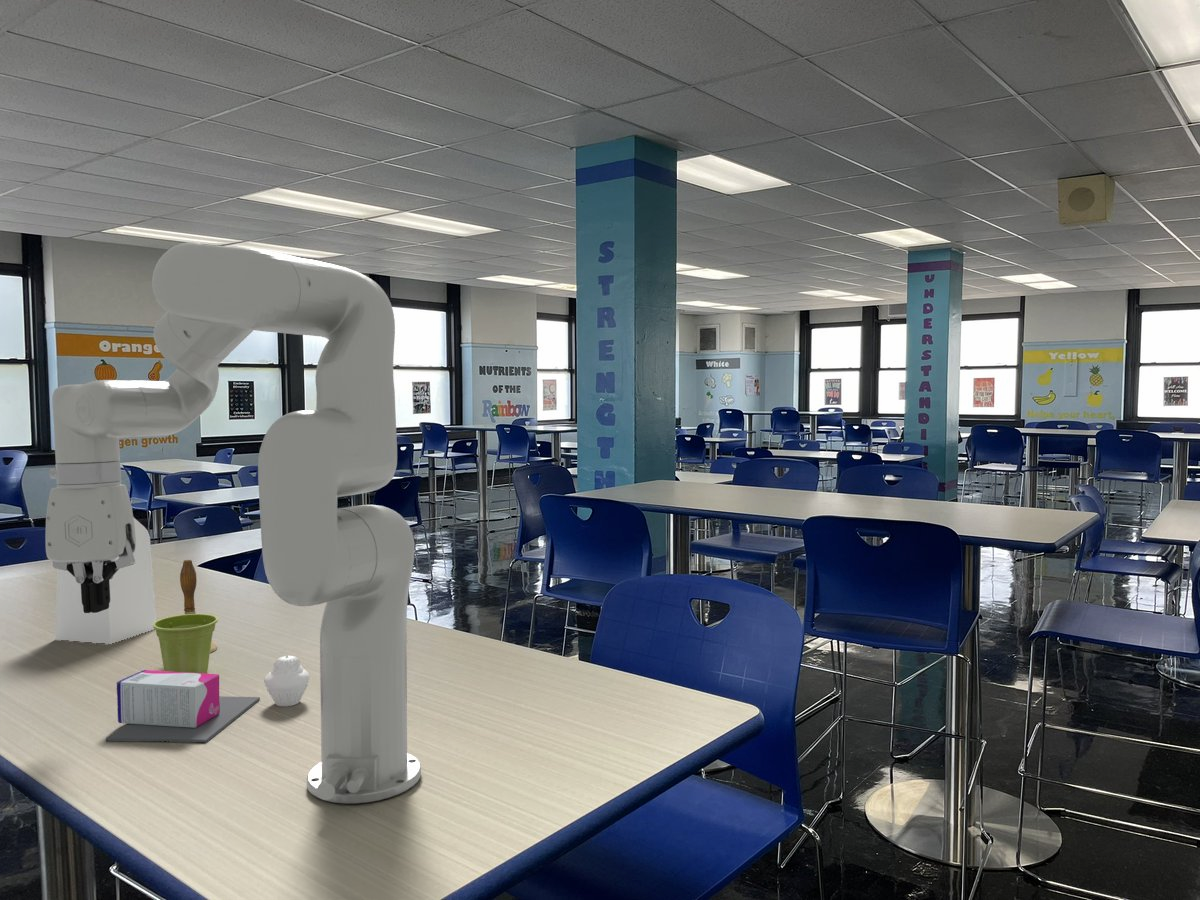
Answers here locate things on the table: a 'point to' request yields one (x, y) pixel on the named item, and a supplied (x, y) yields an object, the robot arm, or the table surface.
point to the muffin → (287, 681)
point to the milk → (127, 601)
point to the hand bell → (190, 590)
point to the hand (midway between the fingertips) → (96, 610)
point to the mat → (202, 733)
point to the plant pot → (186, 642)
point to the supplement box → (168, 698)
